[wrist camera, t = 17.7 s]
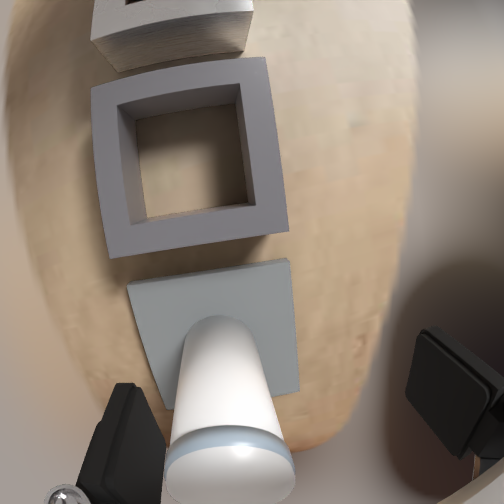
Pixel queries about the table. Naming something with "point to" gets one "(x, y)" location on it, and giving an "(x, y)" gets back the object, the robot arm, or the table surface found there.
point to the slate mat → (219, 303)
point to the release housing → (168, 29)
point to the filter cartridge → (225, 422)
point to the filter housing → (173, 100)
